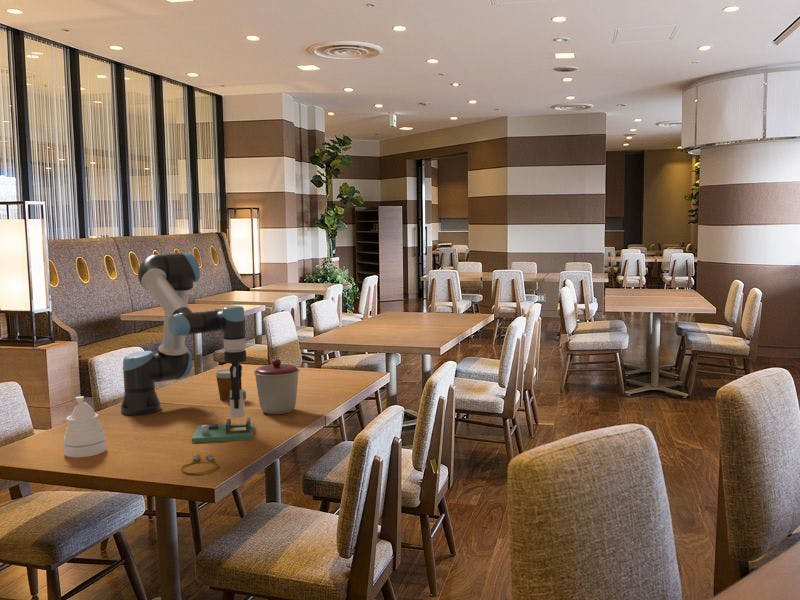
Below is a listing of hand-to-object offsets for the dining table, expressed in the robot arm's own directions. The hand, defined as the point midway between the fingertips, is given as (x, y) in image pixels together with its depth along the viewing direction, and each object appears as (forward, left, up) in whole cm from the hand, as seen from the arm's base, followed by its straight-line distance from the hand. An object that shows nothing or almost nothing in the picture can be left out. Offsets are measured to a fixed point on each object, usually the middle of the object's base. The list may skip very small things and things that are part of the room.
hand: (237, 415), depth 261 cm
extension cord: (-8, -34, -7) cm, 36 cm away
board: (-5, 0, -7) cm, 8 cm away
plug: (0, 0, 0) cm, 0 cm away
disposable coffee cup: (-9, +54, -7) cm, 55 cm away
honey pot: (-49, -11, -7) cm, 51 cm away
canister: (+13, +29, -7) cm, 33 cm away
